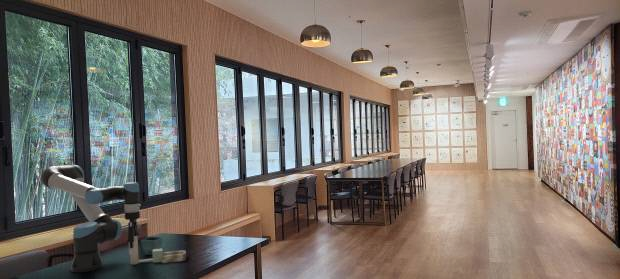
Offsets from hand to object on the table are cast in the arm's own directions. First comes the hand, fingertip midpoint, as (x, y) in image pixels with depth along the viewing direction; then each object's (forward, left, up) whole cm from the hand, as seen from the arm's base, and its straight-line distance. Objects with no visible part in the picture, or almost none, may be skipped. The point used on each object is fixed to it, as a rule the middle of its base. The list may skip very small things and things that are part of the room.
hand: (133, 250), depth 244 cm
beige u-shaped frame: (+21, 0, -7) cm, 22 cm away
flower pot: (+8, +19, -7) cm, 22 cm away
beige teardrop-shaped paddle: (+7, 0, -7) cm, 9 cm away
